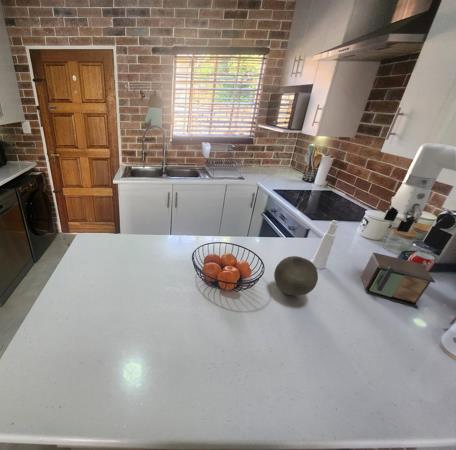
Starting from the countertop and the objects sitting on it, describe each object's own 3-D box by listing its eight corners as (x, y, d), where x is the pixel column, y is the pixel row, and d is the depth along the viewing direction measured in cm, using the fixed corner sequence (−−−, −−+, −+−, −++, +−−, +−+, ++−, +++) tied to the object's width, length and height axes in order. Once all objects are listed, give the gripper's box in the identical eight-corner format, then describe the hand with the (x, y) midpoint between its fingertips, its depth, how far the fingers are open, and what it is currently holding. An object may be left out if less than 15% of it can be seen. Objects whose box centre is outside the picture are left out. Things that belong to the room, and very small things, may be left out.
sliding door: (390, 296, 92) (408, 268, 87) (393, 302, 90) (411, 273, 84) (369, 290, 95) (384, 262, 89) (371, 295, 92) (387, 267, 87)
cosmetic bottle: (313, 259, 115) (330, 216, 105) (327, 266, 110) (346, 222, 100) (307, 264, 111) (324, 220, 101) (322, 270, 107) (341, 225, 97)
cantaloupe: (261, 286, 96) (270, 254, 90) (285, 276, 102) (296, 246, 96) (293, 311, 85) (307, 276, 78) (318, 298, 91) (333, 265, 84)
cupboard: (406, 288, 98) (422, 264, 93) (417, 308, 89) (435, 282, 83) (360, 276, 105) (373, 252, 99) (366, 293, 95) (379, 267, 90)
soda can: (405, 282, 102) (420, 258, 96) (394, 272, 108) (408, 249, 102) (425, 285, 100) (442, 261, 95) (413, 275, 106) (428, 252, 101)
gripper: (450, 190, 76) (421, 238, 84) (417, 176, 91) (395, 218, 99) (420, 186, 78) (394, 234, 86) (392, 173, 93) (373, 215, 101)
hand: (394, 225), depth 92 cm, fingers open, 9 cm apart
